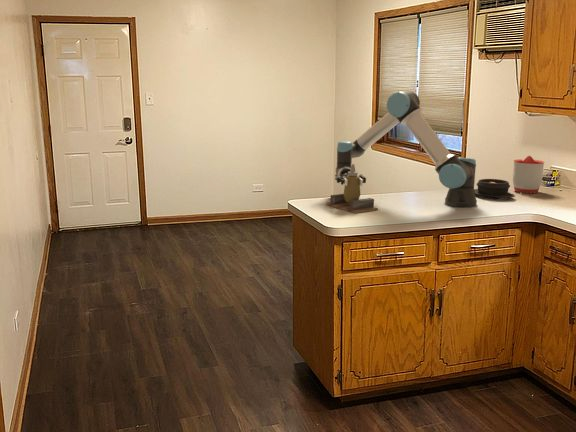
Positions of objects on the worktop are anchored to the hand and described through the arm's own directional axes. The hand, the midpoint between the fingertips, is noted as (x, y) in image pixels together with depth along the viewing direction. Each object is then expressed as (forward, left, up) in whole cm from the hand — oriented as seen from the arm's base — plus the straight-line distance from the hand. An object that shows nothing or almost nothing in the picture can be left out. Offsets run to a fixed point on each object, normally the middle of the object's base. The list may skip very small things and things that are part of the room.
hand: (354, 182), depth 293 cm
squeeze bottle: (+4, -3, -10) cm, 11 cm away
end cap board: (+4, -3, -13) cm, 14 cm away
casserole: (-13, -84, -13) cm, 85 cm away
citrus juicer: (-13, -112, -13) cm, 113 cm away
